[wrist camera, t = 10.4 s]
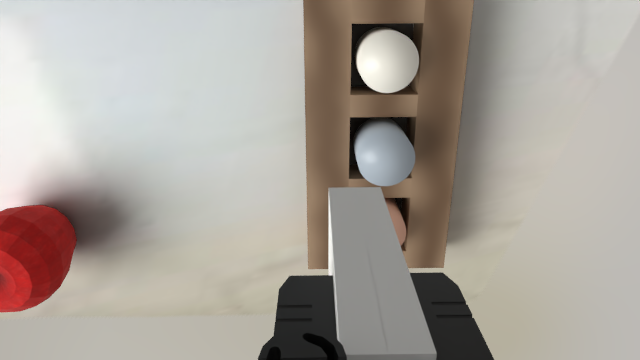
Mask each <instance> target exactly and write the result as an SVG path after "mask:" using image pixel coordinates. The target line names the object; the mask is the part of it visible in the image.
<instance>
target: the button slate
mask: <svg viewBox="0 0 640 360" xmlns="http://www.w3.org/2000/svg"><path fill="white" fill-rule="evenodd" d="M353 147H354V152H355V156H356V160H357V164H358V167H359V170H360V172H361V174H362V176H363V177H364V178H365V179H366V180H367V181H369V182H370V183H372V184H375V185H378V186H391V185H395V184H397V183H400V182H401V181H403V180H404V179H405V178H406V177H407V176H408V175H409V174H410V173H411V171H412V169H413V167H414V164H415V151H414V148H413V146H412V144H411V143H410V141H409V140H408V138H407V136H406V135H405V133H404V132H403V130H402V128H401V127H400V126H399V125H398V124H397V123H396V122H395V121H394V120H392V119H389V118H386V117H375V118H371V119H369V120H367V121H365V122H364V123H362V124H361V125H360V126H359V128H358V129H357V131H356V132H355V135H354V139H353Z"/></svg>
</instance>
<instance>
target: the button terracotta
mask: <svg viewBox="0 0 640 360" xmlns="http://www.w3.org/2000/svg"><path fill="white" fill-rule="evenodd" d="M384 199H385V202H386V205H387V207H388V210H389V213H390V216H391V219H392V222H393V225H394V228H395V231H396V234H397V237H398V240H399V243H400V246H401V245H402V244H403V242H404V240H405V237H406V226H405V223H404V221H403V218H402V215H401V213H400V210H399V208H398V205H397V203H396V200H395V199H394V198H384Z"/></svg>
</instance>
